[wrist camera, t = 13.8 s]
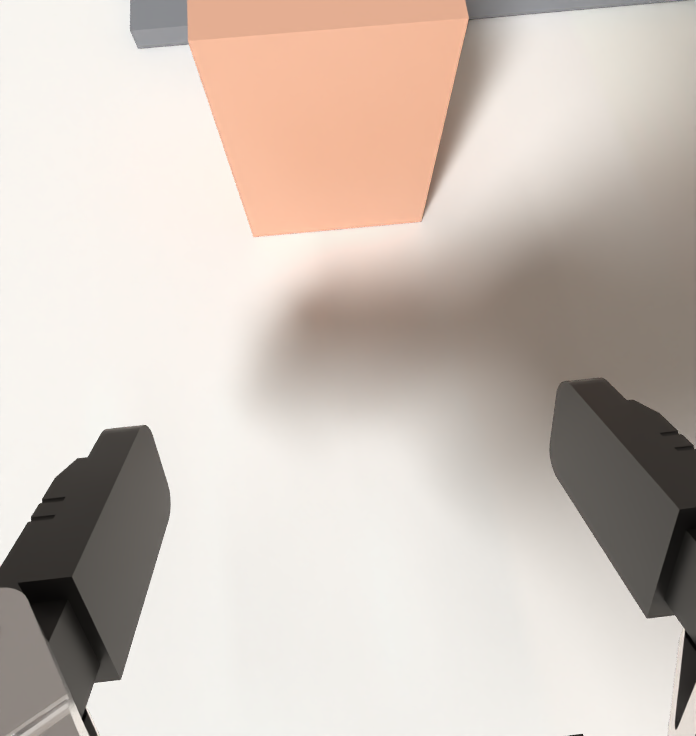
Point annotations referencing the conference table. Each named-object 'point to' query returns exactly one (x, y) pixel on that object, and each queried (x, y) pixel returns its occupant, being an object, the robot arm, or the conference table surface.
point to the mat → (170, 23)
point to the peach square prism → (328, 104)
